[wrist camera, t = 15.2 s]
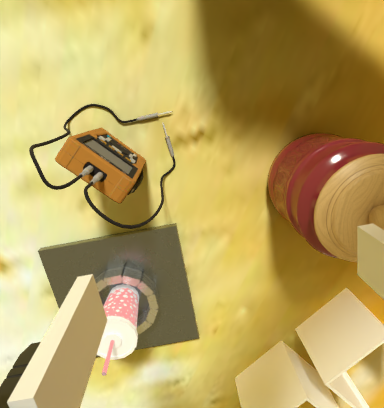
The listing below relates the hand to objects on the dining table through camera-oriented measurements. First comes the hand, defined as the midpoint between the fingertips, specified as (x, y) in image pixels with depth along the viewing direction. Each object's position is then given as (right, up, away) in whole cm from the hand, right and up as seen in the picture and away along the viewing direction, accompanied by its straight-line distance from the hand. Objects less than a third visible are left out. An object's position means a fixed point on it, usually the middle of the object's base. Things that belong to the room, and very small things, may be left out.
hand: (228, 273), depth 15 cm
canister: (+15, +7, +29) cm, 33 cm away
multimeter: (-9, +13, +25) cm, 30 cm away
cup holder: (-12, -11, +33) cm, 36 cm away
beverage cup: (-12, -11, +32) cm, 36 cm away
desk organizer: (+18, -22, +39) cm, 48 cm away
